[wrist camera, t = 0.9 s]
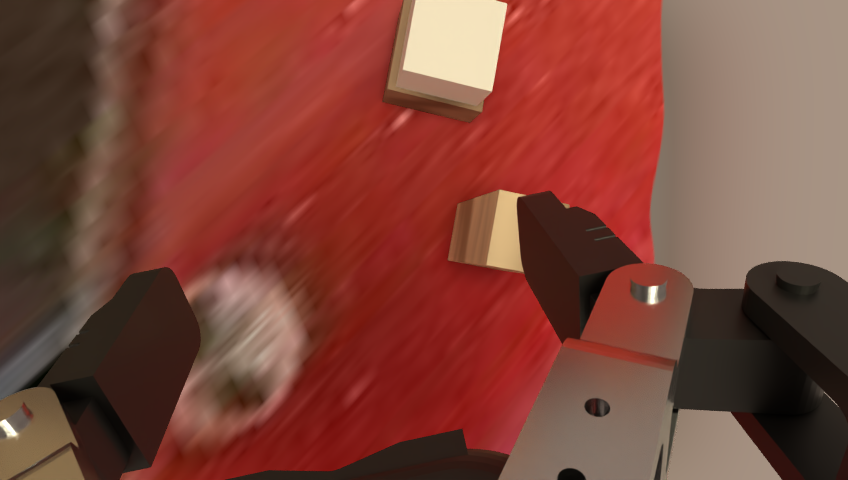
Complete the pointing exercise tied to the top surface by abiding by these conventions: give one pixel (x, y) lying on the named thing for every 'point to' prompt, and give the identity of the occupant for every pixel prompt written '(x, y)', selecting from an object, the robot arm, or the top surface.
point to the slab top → (452, 48)
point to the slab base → (416, 98)
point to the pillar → (488, 232)
